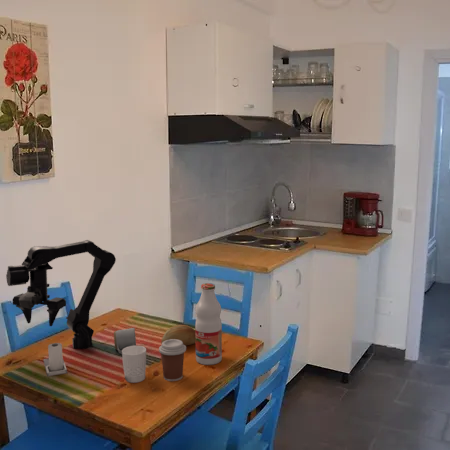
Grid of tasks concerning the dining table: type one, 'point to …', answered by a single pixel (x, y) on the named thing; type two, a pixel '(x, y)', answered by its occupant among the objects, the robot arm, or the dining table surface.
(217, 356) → the fruit juice
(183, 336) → the bread roll
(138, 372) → the white cup
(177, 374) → the coffee cup
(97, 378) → the dining table surface
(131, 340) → the ceramic mug
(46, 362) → the power strip
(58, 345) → the cream cylinder
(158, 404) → the dining table surface
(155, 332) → the dining table surface
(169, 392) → the dining table surface
